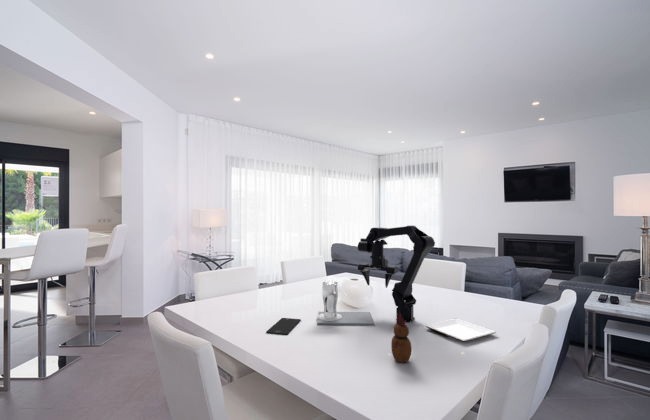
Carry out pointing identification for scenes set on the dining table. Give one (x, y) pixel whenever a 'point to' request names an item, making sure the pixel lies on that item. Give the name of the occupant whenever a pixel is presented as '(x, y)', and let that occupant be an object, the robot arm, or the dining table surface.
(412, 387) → the dining table surface
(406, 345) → the wooden figurine
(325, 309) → the beer glass
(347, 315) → the base plate
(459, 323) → the plate
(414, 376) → the dining table surface
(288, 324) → the cell phone
